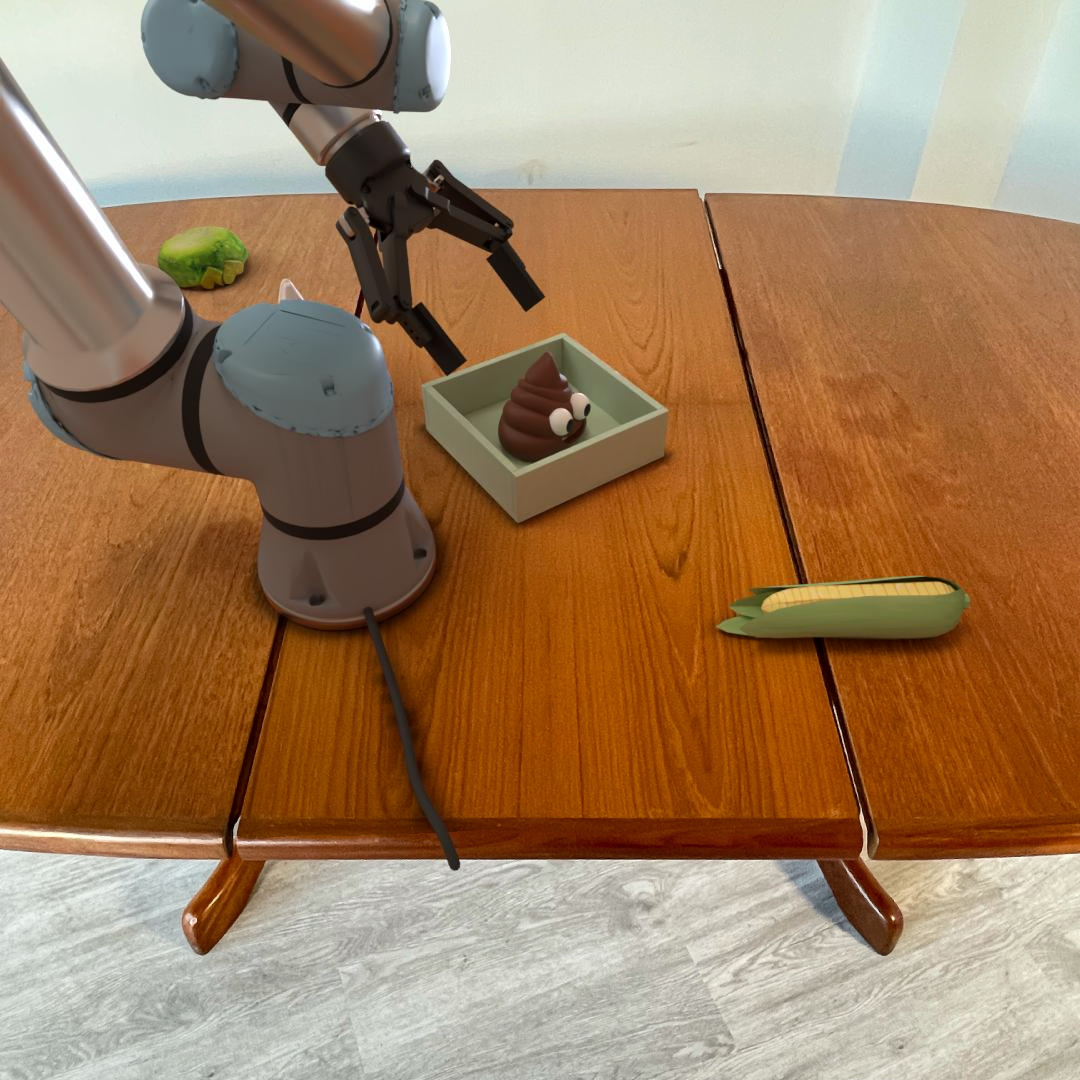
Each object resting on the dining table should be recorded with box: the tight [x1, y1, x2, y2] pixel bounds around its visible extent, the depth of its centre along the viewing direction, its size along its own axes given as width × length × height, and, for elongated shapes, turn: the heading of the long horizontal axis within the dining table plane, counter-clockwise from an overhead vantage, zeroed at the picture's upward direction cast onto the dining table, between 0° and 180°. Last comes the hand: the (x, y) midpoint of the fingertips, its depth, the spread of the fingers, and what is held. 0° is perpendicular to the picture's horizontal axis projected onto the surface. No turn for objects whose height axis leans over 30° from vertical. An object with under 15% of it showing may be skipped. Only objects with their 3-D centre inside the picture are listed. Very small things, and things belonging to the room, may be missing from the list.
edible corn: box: [715, 575, 971, 640], centre depth 71 cm, size 5×20×5 cm, turn 92°
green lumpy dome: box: [156, 225, 249, 290], centre depth 116 cm, size 12×11×5 cm
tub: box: [420, 332, 670, 524], centre depth 88 cm, size 18×18×6 cm
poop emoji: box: [498, 352, 591, 461], centre depth 87 cm, size 10×8×9 cm
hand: (498, 335), depth 84 cm, fingers open, 13 cm apart
